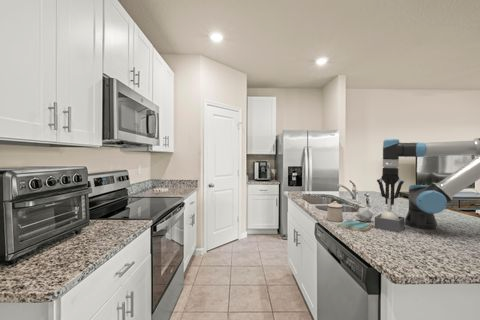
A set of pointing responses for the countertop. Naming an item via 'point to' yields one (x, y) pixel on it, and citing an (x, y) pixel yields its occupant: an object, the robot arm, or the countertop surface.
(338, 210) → the teacup with lid
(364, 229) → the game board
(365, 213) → the grey rock
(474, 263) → the countertop surface
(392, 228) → the dark grey open box
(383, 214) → the dome
